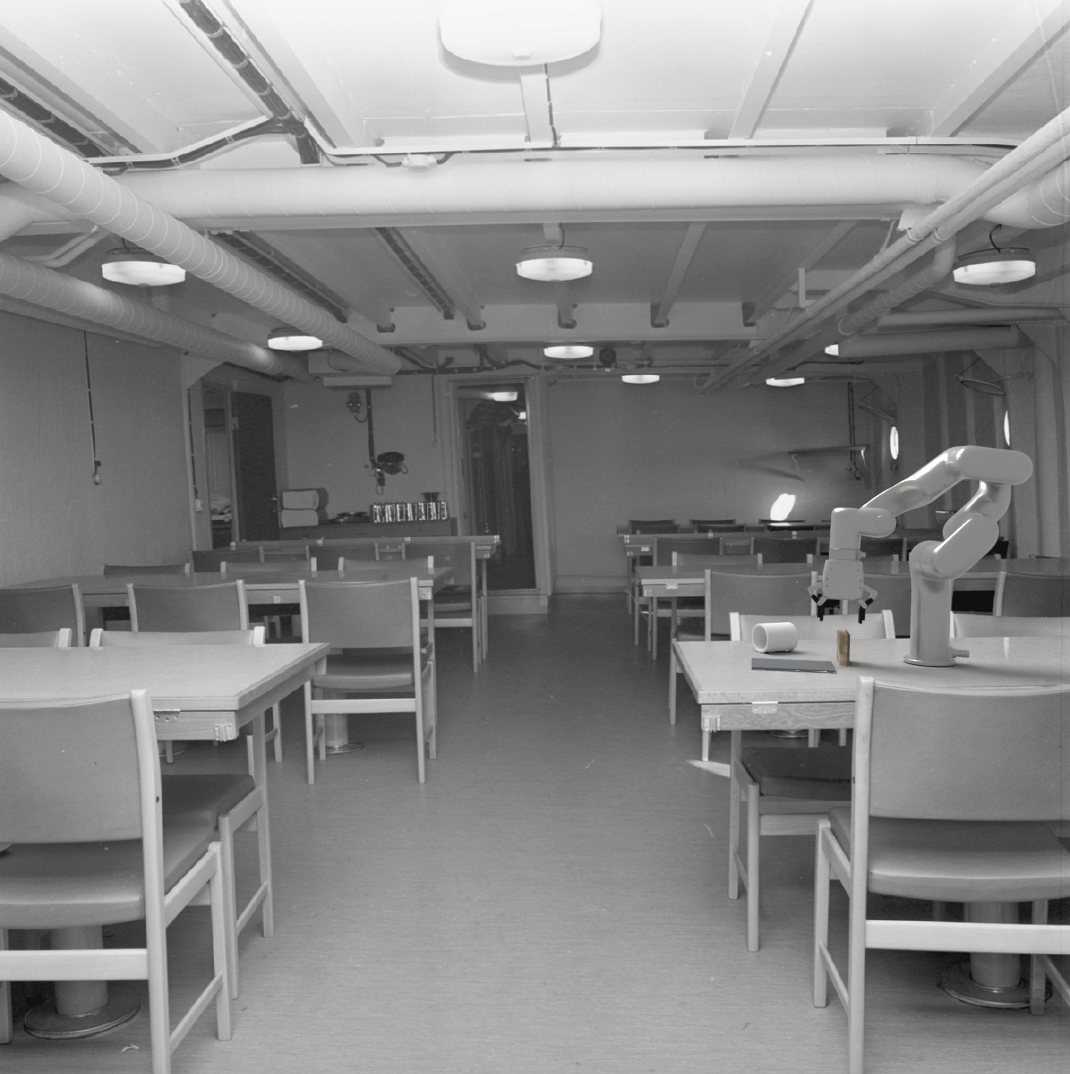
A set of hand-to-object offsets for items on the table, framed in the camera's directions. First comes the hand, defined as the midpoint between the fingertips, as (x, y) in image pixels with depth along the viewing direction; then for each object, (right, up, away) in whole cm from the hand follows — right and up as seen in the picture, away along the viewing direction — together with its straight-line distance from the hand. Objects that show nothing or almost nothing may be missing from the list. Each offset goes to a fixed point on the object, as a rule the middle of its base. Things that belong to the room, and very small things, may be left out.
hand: (840, 621), depth 256 cm
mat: (-14, -11, -6) cm, 18 cm away
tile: (+1, -11, +1) cm, 11 cm away
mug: (-14, -10, +20) cm, 26 cm away
